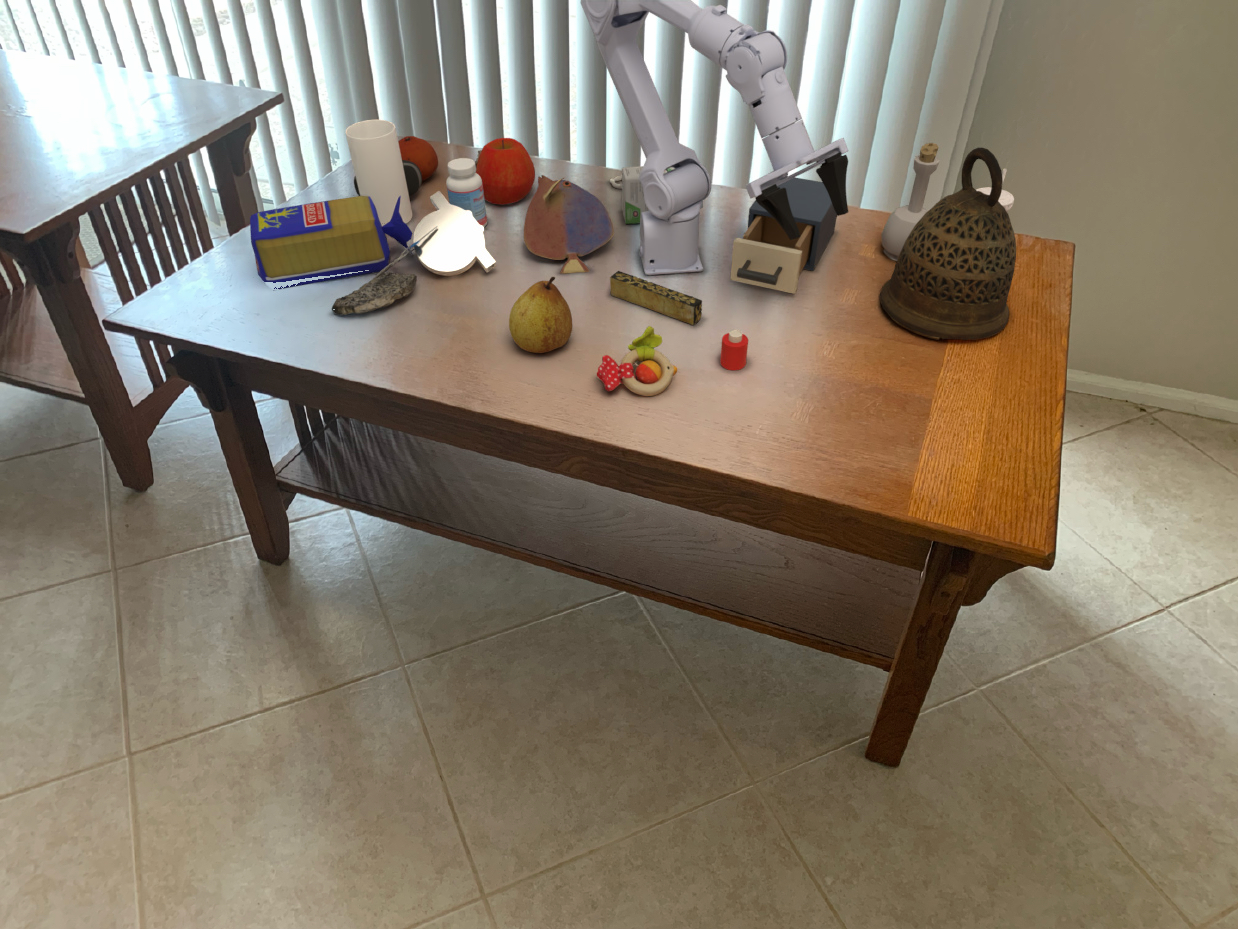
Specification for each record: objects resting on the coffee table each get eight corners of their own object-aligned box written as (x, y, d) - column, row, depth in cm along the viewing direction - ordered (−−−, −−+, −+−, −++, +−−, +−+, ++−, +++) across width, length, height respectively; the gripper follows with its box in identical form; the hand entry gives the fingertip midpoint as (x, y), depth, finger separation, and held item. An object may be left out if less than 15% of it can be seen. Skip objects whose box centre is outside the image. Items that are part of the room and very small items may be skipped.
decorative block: (702, 319, 129) (703, 298, 127) (693, 326, 128) (694, 306, 125) (618, 288, 136) (618, 268, 133) (609, 295, 134) (609, 275, 132)
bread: (262, 265, 143) (242, 207, 135) (411, 239, 148) (399, 182, 141) (263, 297, 136) (242, 238, 128) (420, 269, 141) (408, 211, 134)
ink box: (622, 212, 154) (686, 207, 155) (625, 225, 151) (691, 220, 151) (621, 166, 148) (688, 161, 149) (624, 178, 145) (693, 174, 146)
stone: (325, 302, 131) (332, 318, 133) (359, 314, 126) (367, 331, 128) (392, 256, 138) (398, 272, 140) (427, 266, 133) (433, 283, 135)
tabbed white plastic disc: (508, 253, 138) (453, 280, 133) (496, 280, 145) (443, 307, 139) (452, 182, 139) (395, 206, 134) (442, 212, 146) (387, 236, 140)
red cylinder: (722, 371, 120) (725, 341, 116) (718, 356, 122) (720, 326, 119) (748, 369, 120) (751, 339, 116) (742, 354, 122) (745, 324, 119)
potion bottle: (941, 251, 142) (970, 144, 130) (914, 272, 138) (941, 163, 125) (894, 233, 147) (918, 129, 134) (866, 253, 142) (888, 147, 130)
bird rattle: (694, 349, 116) (642, 312, 118) (645, 394, 110) (591, 354, 112) (683, 379, 121) (633, 343, 123) (636, 423, 115) (584, 385, 117)
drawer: (786, 308, 129) (792, 268, 124) (721, 293, 132) (724, 254, 128) (815, 255, 140) (821, 217, 136) (754, 243, 143) (758, 205, 139)
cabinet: (813, 270, 138) (821, 221, 133) (744, 256, 142) (749, 208, 136) (834, 232, 147) (842, 185, 141) (768, 220, 151) (774, 173, 145)
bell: (973, 388, 129) (1024, 285, 134) (1030, 294, 105) (1088, 173, 110) (856, 339, 134) (909, 242, 139) (885, 239, 110) (947, 126, 115)
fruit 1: (387, 188, 163) (378, 146, 157) (403, 167, 169) (395, 127, 164) (431, 190, 162) (424, 149, 156) (446, 170, 168) (439, 129, 162)
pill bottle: (486, 232, 149) (477, 170, 142) (451, 233, 149) (440, 171, 142) (489, 216, 154) (481, 155, 146) (455, 217, 154) (445, 156, 146)
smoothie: (999, 262, 139) (1026, 180, 130) (958, 258, 140) (981, 176, 131) (995, 242, 144) (1020, 162, 134) (955, 239, 145) (977, 159, 135)
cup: (422, 213, 155) (405, 125, 144) (390, 233, 150) (370, 142, 139) (388, 203, 158) (369, 115, 147) (356, 221, 153) (334, 132, 142)
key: (605, 182, 161) (613, 173, 164) (606, 187, 161) (613, 177, 164) (666, 191, 158) (673, 182, 161) (666, 196, 158) (673, 186, 161)
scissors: (381, 275, 130) (377, 271, 129) (361, 293, 136) (358, 289, 136) (440, 228, 137) (436, 223, 137) (419, 247, 144) (415, 243, 143)
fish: (514, 152, 139) (606, 144, 140) (520, 200, 151) (605, 192, 152) (524, 255, 133) (620, 247, 134) (530, 297, 145) (618, 289, 146)
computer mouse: (348, 167, 155) (348, 175, 152) (415, 153, 156) (417, 160, 153) (361, 205, 159) (361, 212, 156) (426, 190, 161) (427, 198, 157)
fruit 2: (502, 338, 126) (492, 267, 117) (557, 319, 129) (551, 248, 121) (527, 370, 121) (519, 298, 112) (584, 349, 124) (580, 278, 115)
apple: (534, 210, 155) (529, 152, 148) (474, 210, 155) (466, 153, 148) (539, 183, 163) (534, 127, 155) (482, 183, 163) (474, 128, 156)
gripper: (745, 146, 109) (785, 246, 112) (842, 99, 110) (879, 199, 114) (726, 156, 115) (764, 250, 119) (818, 111, 117) (853, 206, 121)
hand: (819, 226), depth 117 cm, fingers open, 7 cm apart
